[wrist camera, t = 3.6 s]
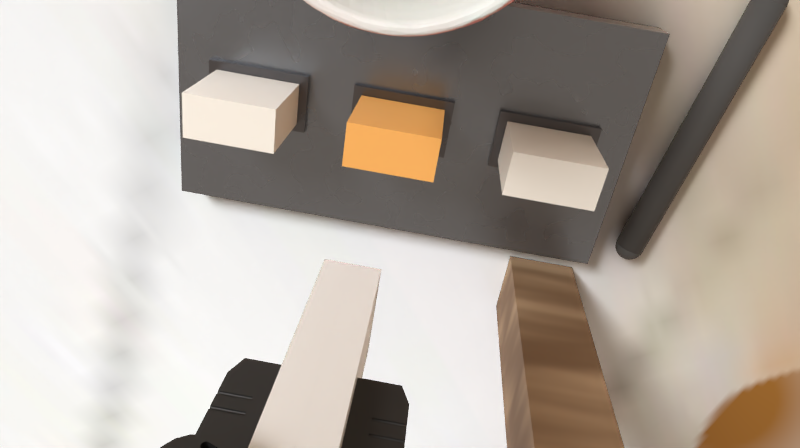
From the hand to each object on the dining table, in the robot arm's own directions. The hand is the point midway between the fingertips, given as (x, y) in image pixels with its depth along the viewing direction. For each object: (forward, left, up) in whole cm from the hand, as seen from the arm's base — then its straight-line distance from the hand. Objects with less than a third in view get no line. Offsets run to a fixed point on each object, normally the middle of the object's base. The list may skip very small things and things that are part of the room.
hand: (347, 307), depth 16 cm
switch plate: (0, 0, -17) cm, 17 cm away
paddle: (0, -7, -15) cm, 17 cm away
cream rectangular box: (0, +7, -15) cm, 17 cm away
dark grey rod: (-2, +14, -17) cm, 22 cm away
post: (+9, +9, -17) cm, 21 cm away
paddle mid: (0, 0, -15) cm, 15 cm away
